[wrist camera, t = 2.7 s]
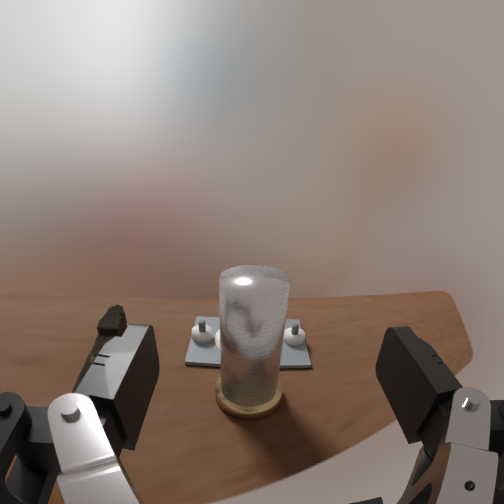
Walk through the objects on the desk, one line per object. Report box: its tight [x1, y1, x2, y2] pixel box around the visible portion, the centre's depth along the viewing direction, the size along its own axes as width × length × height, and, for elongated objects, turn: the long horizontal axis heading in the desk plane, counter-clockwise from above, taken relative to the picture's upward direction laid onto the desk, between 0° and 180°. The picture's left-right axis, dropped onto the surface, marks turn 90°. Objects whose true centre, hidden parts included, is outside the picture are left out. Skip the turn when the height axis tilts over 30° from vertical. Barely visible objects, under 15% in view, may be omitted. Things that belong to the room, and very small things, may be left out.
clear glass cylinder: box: [215, 265, 290, 420], centre depth 24 cm, size 6×6×12 cm
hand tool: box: [72, 305, 127, 393], centre depth 25 cm, size 19×4×5 cm, turn 5°
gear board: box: [185, 316, 311, 368], centre depth 33 cm, size 13×9×2 cm
